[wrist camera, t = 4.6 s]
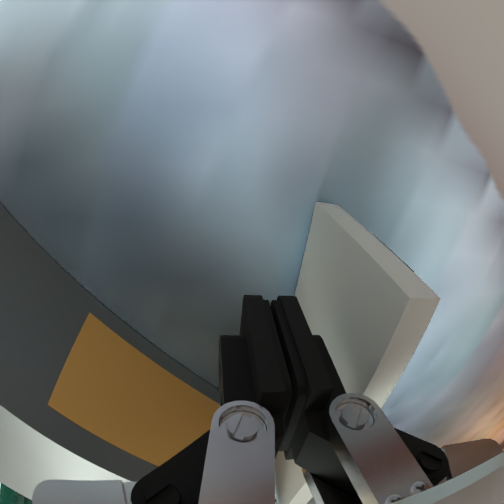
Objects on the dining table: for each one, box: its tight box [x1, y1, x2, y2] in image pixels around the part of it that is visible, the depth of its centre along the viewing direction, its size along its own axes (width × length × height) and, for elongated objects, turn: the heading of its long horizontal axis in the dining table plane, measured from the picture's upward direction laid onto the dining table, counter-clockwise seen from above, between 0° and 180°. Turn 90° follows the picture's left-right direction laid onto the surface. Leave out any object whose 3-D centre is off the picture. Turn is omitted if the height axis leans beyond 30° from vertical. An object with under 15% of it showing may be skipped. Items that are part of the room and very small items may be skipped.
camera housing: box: [0, 203, 220, 500], centre depth 11 cm, size 24×12×9 cm, turn 40°
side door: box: [275, 202, 440, 504], centre depth 13 cm, size 14×2×7 cm, turn 171°
